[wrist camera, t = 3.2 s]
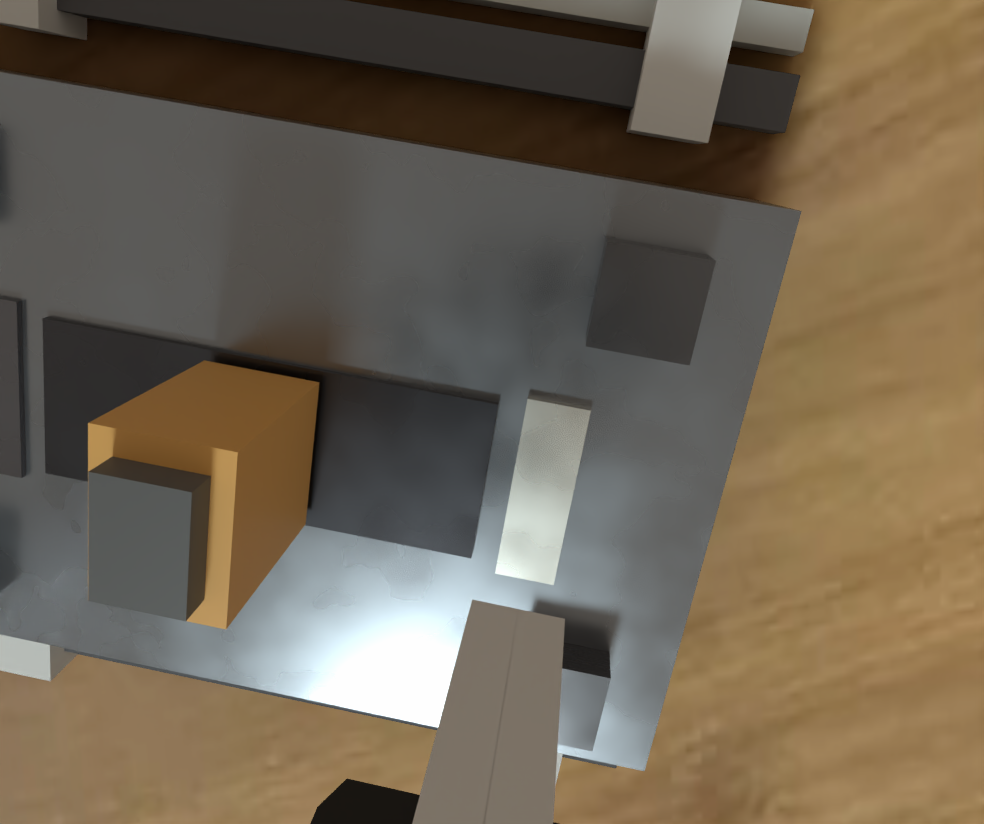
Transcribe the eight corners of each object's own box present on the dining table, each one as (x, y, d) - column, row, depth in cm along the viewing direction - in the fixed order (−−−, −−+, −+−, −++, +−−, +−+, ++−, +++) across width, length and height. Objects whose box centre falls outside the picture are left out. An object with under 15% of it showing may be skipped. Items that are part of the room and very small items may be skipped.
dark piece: (-13, 623, 30) (-58, 658, 28) (-51, -154, 22) (-116, -187, 20) (610, 755, 29) (612, 801, 27) (812, -18, 21) (838, -36, 19)
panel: (-18, 532, 29) (-170, 627, 23) (-41, 61, 24) (-242, 31, 18) (633, 666, 28) (647, 803, 22) (755, 200, 23) (816, 215, 17)
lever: (197, 502, 21) (64, 622, 16) (204, 360, 20) (61, 437, 15) (305, 524, 21) (209, 652, 16) (319, 382, 20) (219, 467, 14)
